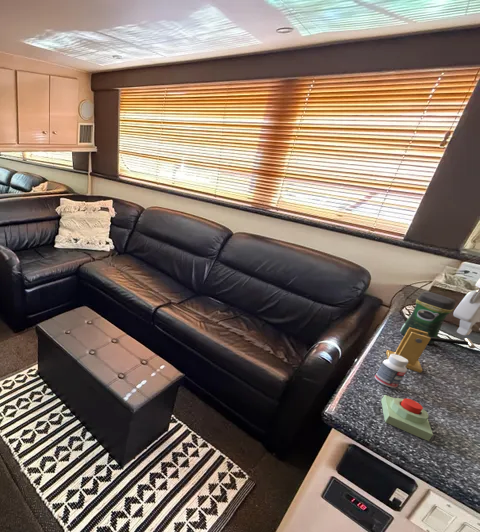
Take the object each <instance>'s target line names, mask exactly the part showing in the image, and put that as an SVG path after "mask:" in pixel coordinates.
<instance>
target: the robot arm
mask: <svg viewBox="0 0 480 532" xmlns="http://www.w3.org/2000/svg"><path fill="white" fill-rule="evenodd" d="M475 287H477V288H479V289H475V290H470V291H469V292H467V294H465V296H464V297H463V298H462V299H461V301H460V302H459V304H458V305H457V306H456V308H454V309H453V317H454V318H457V319H459V327H458V328H457V330H456V333H457V334H459V335H462V336H469V335H470V334H471V333H472V332H473V329H472V328H473V326H475V324H476V323H480V277H479V278H478V279H477V281H476V282H475ZM478 331H479V332H480V327H479V328H478Z"/></svg>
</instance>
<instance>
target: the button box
mask: <svg viewBox="0 0 480 532" xmlns="http://www.w3.org/2000/svg"><path fill="white" fill-rule="evenodd" d="M403 399H404V398H401V397H392V396H389V395H386V394H384V395H383V396H382V398H381V400H380V402H381V408H382V412H383V413H382V414H383V419H384V423H385V424H388V425H390V426H393V427H395V428H397V429H400V430H401V431H404V432H406V433H408V434H410V435H413V436H415V437H417V438H420V439H422V440H425V441H427V442H429V441H430V440H431V438H432V437H433V436H434V432H433V431H432V427H431V424H430V422H429V418H430V417H429V414H428V412H427V411H426V410H425V409H424V408H423V409H422V411H421V412H420V414H414V413H412V412H409V411H408V410H406V409H404V408H403V407H402V406H401V405H400V404H401V402H402V401H403Z"/></svg>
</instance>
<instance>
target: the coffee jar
mask: <svg viewBox="0 0 480 532" xmlns="http://www.w3.org/2000/svg"><path fill="white" fill-rule="evenodd" d="M456 302H457V301H456V299H454V298H451V297H447V296H444V295H441V294H439V293H434V292H431V291H428V290H427V291H422V292H421V293H420V294H419V296H418V297H417V298H416V300H415V305H414V308H413V310H412V312H411V313H410V315H409V317H407V319H406V320H405V322H404V323H403V324H402V326H401V328H400V330H399V332H400V333H401V334H402V335H403V336H405V334H406V332H407V330H408V329H409V327H411V328H414V329H418V330H421V331H424V332H428V335H427V336H428V337H437V338H438V336H439V333H440V330H441V328H442V326H443V324H444V322H445V319H446V317H447V316H448V315H449V314H451V313H452V312H454V310H455V306H456ZM435 342H436V341H429V343H428V344H430V345H432V344H434V343H435ZM428 344H427V345H428Z"/></svg>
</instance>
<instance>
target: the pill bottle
mask: <svg viewBox="0 0 480 532" xmlns="http://www.w3.org/2000/svg"><path fill="white" fill-rule="evenodd" d="M407 364H408V360H407V359H406V358H404V357H402V356H400V355H397V354H390V356H389V358H387V359H384V360H383V361H382V362H381V364H380V366H379V368H378V370H377V372H376V373H375V374H374V379H375V380H376V381H377V382H378V383H380V384H381V385H383V386H385V387H389V388H391V389H392V388H393V389H394V388H395V389H396V388H398V387H399V385H400V383H401V381H402V380H403V378H404V377H405V375H406V373H407V371H408V368H406V367H405V366H406V365H407Z"/></svg>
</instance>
